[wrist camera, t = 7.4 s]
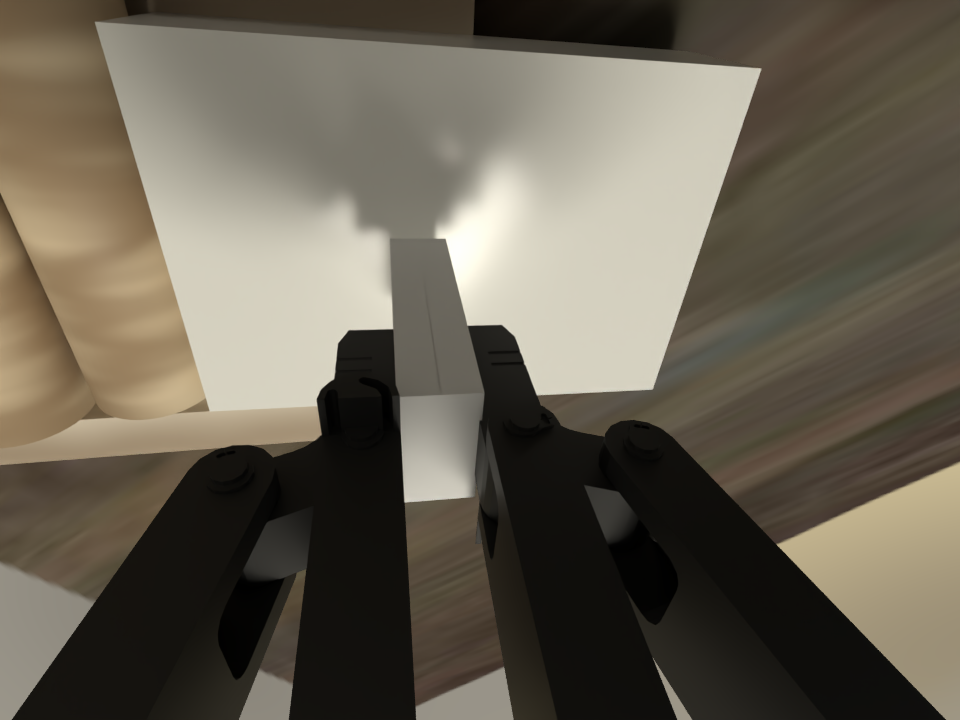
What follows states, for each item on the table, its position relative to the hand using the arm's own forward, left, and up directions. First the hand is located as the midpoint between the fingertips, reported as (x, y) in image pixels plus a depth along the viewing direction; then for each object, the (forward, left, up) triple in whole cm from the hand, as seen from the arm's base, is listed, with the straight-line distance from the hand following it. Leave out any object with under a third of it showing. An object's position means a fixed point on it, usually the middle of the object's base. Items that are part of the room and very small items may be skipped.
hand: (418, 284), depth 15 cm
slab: (0, +1, -5) cm, 5 cm away
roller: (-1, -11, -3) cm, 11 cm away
